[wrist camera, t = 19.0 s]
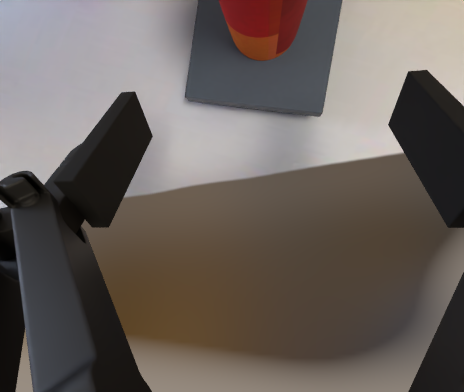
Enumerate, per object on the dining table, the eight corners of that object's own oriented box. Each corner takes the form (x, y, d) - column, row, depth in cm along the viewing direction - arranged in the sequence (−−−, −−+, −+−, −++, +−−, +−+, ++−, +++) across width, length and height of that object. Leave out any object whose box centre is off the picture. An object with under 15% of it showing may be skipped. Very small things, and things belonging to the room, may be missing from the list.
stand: (193, 106, 26) (184, 96, 23) (213, -29, 25) (206, -57, 22) (315, 121, 25) (322, 113, 22) (340, -22, 24) (351, -51, 21)
